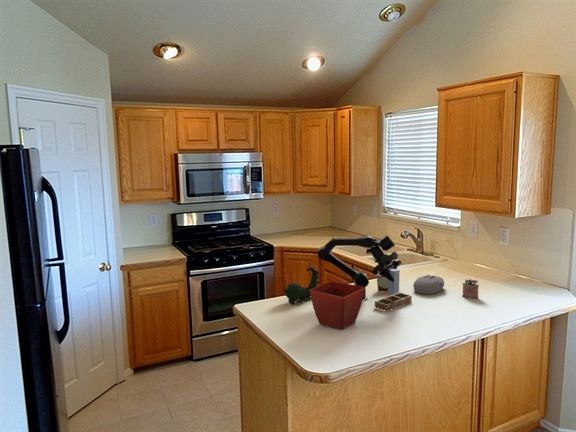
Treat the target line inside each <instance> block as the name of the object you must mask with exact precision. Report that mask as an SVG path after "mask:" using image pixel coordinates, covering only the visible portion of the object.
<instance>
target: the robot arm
mask: <svg viewBox="0 0 576 432" xmlns="http://www.w3.org/2000/svg"><path fill="white" fill-rule="evenodd" d="M344 246H345V247H346V246H348V247H349V246H350V247H351V246H354V247H356V246H357V247H362V248H366V252H365V254H367V255H372V257H373V258H374V263H377V265H375V267H373V268H372V270H371V273H372V275H373V276H376V275H377V274H378V273H379V275H381V276H383V277H385V278H387V279H388V280H390V281H392V282H393V281H394V279H393V277H392V276H391V274H390V272H389V270H390V269H398V267H399V266H401V265H402V261H401V259H398V257H399V254H398V253H397V251H393V252H391V254H388V253H384V251H386V252H388V251H389V250H391V249H392V248H394V247H395V246H396V244H395V243H394V241H393V240H392V239H391V238H390V236H389V235H385V236H384V237H383V238H381V239H376V238H374V237H373V236H371V235H364V236H363V235H362V236H358V237H332V238H331V239H330V240H329V241H328V242H327V243H326V244H325V245H324V246H320V247H319V248H318V250H317V251H318V252H317V257H318V258H319V259H320V260H323V261H325V262H327V263H331V264H332V265H333V266H334V267H336V268H338V270H340V271H342V272H343V273H345V274H346V275H348V276H350V278H351V279H353V285H356V286H361V287H364V288H365V289H364V295H363V299H365V298H366V300H368V299H367V298H368V297H366V296H367V295H366V294H367V293H366V291H367V290H366V287H368V285H369V283H370V281H369V276H368V275H367V273H366V272H364V271H363V270H361V269H359V270H356V269H354V268H353V267H351V266H350V265H348V263H346V262H344V261H343V260H341V259H340V258H338V257H337V256H335V255H334V253H333V252H332V251H333V249H334V248H335V247H344Z"/></svg>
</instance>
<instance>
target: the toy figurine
mask: <svg viewBox="0 0 576 432" xmlns="http://www.w3.org/2000/svg"><path fill="white" fill-rule="evenodd" d="M309 271H310V272H311V275H310V280H309V284H308V286H305V287H303V286H302V285H301V284H299V283H297V282H290V283H288V284H287V285H286V287H285V288H283V289H282V292H284V293H285V297H286V298H287V299H288V300H287V301H288V303H289V302H290V303H289V304H291V303H294V304H295V303H296V301H298V300H300V301H302V302H303V301H304V302H305V301H306V300H308V299H311V295H310V289H313V288H315V287H318V284H320V281H319V279H320V275H319V274H320V271H319V270H317V269H316V268H315V267H314V266H309V267H307V268H306V271H305V272H309Z"/></svg>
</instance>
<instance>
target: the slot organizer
mask: <svg viewBox="0 0 576 432" xmlns="http://www.w3.org/2000/svg"><path fill="white" fill-rule="evenodd" d="M412 301H413V300H412V295H410V294H407V293H403V292H400V291H399V293H396V294H391V295H388V296H385V297H383V298H380V299H378V300H375V301H374V308H375V307H376V308H375V309H377V308H379V309H378V310H380V309H382V310H381V311H383V310H385V311H384V312H386V311H388V312H390V311H392V310H391V309H393V310H395V309H397V308H396V307H398V308H400V307H402V305H403V306H405V305H407V303H408V304H411V303H412ZM404 304H405V305H404ZM399 306H400V307H399ZM394 308H395V309H394ZM389 310H390V311H389Z"/></svg>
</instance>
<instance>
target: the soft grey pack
mask: <svg viewBox="0 0 576 432" xmlns="http://www.w3.org/2000/svg"><path fill="white" fill-rule="evenodd" d="M412 287H413V290H414V291H415V292H416V293H418V294H421V295H422V294H423V295H433V294H437V293H439V292H440V291H441V290H442V289H444V287H445V280H444V279H443V277H440V276H437V275H430V274H427V275H423V276H419V277H418V278H416V280H415V281H414V283H413V285H412Z"/></svg>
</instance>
